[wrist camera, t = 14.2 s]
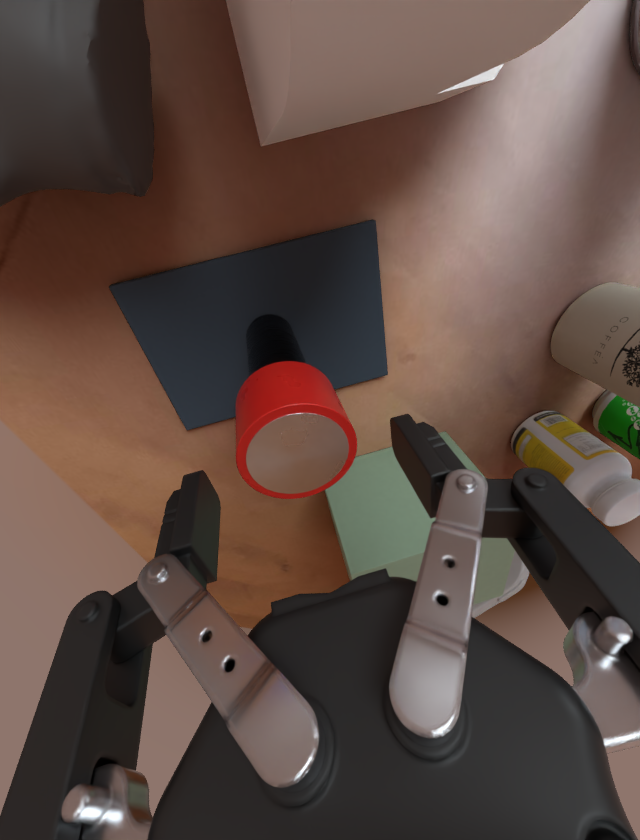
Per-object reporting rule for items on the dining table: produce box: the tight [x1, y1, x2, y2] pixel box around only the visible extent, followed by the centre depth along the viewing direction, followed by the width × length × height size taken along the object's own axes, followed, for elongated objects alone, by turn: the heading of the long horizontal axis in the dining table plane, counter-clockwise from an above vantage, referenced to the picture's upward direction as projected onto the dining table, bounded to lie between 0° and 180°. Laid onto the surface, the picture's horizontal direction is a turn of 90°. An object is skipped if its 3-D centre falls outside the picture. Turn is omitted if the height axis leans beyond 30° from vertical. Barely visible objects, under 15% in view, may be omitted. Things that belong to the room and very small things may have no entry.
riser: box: [325, 431, 515, 605], centre depth 34 cm, size 14×12×12 cm
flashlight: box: [236, 314, 357, 499], centre depth 20 cm, size 5×5×14 cm
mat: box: [109, 220, 388, 430], centre depth 26 cm, size 18×12×1 cm, turn 101°
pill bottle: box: [511, 411, 640, 526], centre depth 34 cm, size 6×6×12 cm
